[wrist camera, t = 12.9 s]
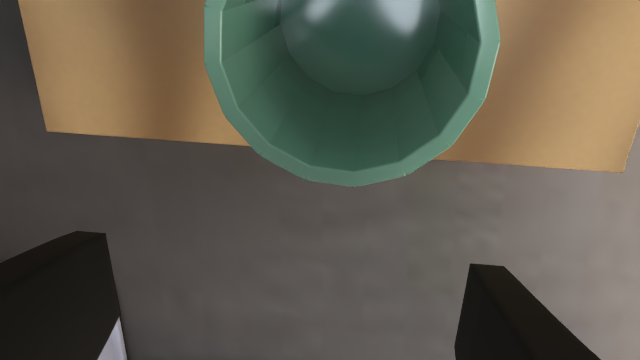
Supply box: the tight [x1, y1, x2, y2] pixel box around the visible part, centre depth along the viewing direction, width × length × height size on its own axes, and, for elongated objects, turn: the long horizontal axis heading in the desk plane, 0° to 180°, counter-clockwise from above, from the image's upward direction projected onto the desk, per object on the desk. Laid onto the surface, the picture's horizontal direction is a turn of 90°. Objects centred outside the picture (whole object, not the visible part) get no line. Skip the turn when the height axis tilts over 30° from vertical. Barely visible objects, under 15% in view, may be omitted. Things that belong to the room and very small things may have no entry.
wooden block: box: [18, 0, 640, 173], centre depth 16 cm, size 20×9×3 cm, turn 88°
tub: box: [204, 0, 501, 187], centre depth 12 cm, size 5×5×6 cm
